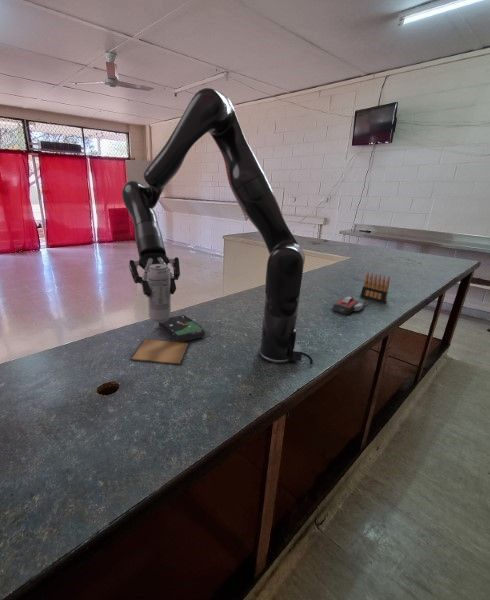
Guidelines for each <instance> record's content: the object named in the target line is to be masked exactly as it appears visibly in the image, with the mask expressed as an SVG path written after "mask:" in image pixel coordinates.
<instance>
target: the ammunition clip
mask: <svg viewBox="0 0 490 600" xmlns="http://www.w3.org/2000/svg"><path fill="white" fill-rule="evenodd" d="M390 280H391V277H390V276H387V278H386V275H383V277H382V274H379V276H378V274H377V273H375V275H374V274H373V272H371V273H370V272H369V271H367V272H366V274H365V278H364V281H363V286H362V288H361V292H360V296H359V297H360V298H363V299H365V300H371V301H374V302H379V303H382V304H386V303H387V299H388V295H389V294H388V293H389V289H390V282H391V281H390Z"/></svg>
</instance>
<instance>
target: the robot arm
mask: <svg viewBox="0 0 490 600" xmlns="http://www.w3.org/2000/svg"><path fill="white" fill-rule="evenodd" d="M206 134H209V135H210V136H211V137H212V139H213V140H214V142H215V144H216V146H217V148H218V149H219V151H220V154H221V155H222V158H223V161H224V166H225V172H226V177H227V181H228V184H229V187H230V190H231V192H232V194H233V196H234V198H235V200H236V202H237V204H238V206H239V207H240V209H241V211H242V212H243V214H244V215H245V216H246V218H247V219H248V220H249V222H250V223H251V224H252V225H253V226H254V227H255V228H256V230H257V231H258V232H259V234H260V236H261V238H262V239H263V242H264V244H265V246H266V249H267V251H268V254H269V255H268V258H267V262H266V270H265V284H264V293H265V294H264V295H265V299H264V306H263V307H264V308H263V317H262V318H263V320H262V330H261V338H260V348H259V356H260V357H261V358H262V359H263V360H265V361H267V362H268V363H273V364H285V363H292V362H293V361H299V362H301V361H302V356H304V357H306V358H307V359H308V360H309V364H310V365H313V364H314V361H313V358H312V356H311V355H309V354H308V353H306V352H303V351H302V346H301V344H298V343H297V344H296V337H297V329H296V326H297V320H298V319H297V318H298V312H299V304H300V297H301V288H302V279H303V273H304V266H305V262H306V256H305V252H304V250H303V249H302V247H301V245H300V244H299V242H298V241H297V239H296V237H295V235H293V233H292V232H291V230H290V228H289V227H288V225H287V222H286V220H285V218H284V216H283V213H282V211H281V208H280V205H279V202H278V201H277V198H276V196H275V194H274V191H273V189H272V187H271V184H270V182H269V180H268V178H267V176H266V174H265V172H264V170H263V169H262V166H261V165H260V162H259V161H258V159H257V157H256V155H255V153H254V151H253V150H252V148H251V146H250V145H249V143H248V140H247V139H246V137H245V134H244V132H243V129H242V127H241V124H240V121H239V119H238V116H237V114H236V110H235V107H234V104H233V103H232V101H231V99H230V98H229V97H228V96H227V95H226V94H224V93H223V92H221V91H218V90H216V89H214V88H210V87H205V88H202V89H199V90H198V91H197V92H195V94H194V95H193V96H192V98H191V99H190V101H189V102H188V105H187V107H186V108H185V110H184V112H183V114H182V115H181V117H180V119H179V121H178V122H177V124H176V126H175V127H174V130H173V132H172V133H171V134H170V136H169V138H168V139H167V141H166V142H165V143H164V145H163V147H162V148H161V150H160V151H159V152H158V153H157V155H156V156H155V157H154V158H153V159H152V160H151V161H150V163H149V165H148V166H147V167H146V168H145V169H144V171H143V179H144V181H145V182H146V183H147V184H148V185H149V186H147V185H145V184H143V183H141V182H138V181H137V180H129V181H126V183H125V184H124V185H123V187H122V190H121V198H122V202H123V204H124V207H125V208H126V210H127V212H128V214H129V216H130V218H131V219H132V224H133V229H134V238H135V239H134V240H135V244H136V249H137V254H138V260H134V259H129V261H128V262H129V263H128V268H129V271H130V274H131V277H132V280H133V283H134V284H140V285H141V288H142V292H143V295H144V296H146V298H148V297H149V296H150V289H149V284H148V281H147V272H148V270H149V266H150V265H152V264H165V265H167V266H168V265H169V264H170V266H171V268H173V272H172V271H171V269H170V267H169V266H168V269H169V271H170V292H171V295H175V293H176V291H177V285H176V281H179V278H180V276H181V269H180V258H179V257H177V256H176V257H174V258H169V257H168V254H167V252H166V247H165V244H164V243H165V242H164V239H163V238H164V237H163V234H162V231H161V228H160V226H159V220H158V215H157V213H156V211H155V210H154V208H155V207H156V206H157V204H158V202H159V200H160V197H161V196H162V193H163V192H164V189H165V187H166V186H167V185H168V184H169V182H170V181H172V179H173V178H174V177H175V176H176V174H177V173H178V172H179V171H180V169H181V167H182V165H183V163H184V162H185V158H186V157H187V155H188V153H189V151H190V150H191V149H192V147H193V146H194V145H195V143H197V142H198V140H200V139H201V138H202V137H203V136H205V135H206ZM139 267H140V268H141V269H142V270H144V271H143V275H142V276H140V274H139V271H138V268H139Z"/></svg>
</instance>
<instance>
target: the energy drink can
mask: <svg viewBox="0 0 490 600" xmlns="http://www.w3.org/2000/svg"><path fill="white" fill-rule="evenodd" d="M168 267H169V266H168V265H165V264H152V265H150V266H149V270H148V272H147V281H148V284H149V289H150V296H149V297H147V301H148V305H147V306H148V317H149V318H150V320H151V322H154V323H159V322H164V321H167V320H168V319H169V318H170V317H172V307H171V306H172V305H171V302H172V301H171V297H172V296H171V295H172V294H171V292H170V271H171V270H170V271H169V269H170V268H169V269H168Z"/></svg>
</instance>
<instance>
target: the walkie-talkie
mask: <svg viewBox="0 0 490 600" xmlns="http://www.w3.org/2000/svg"><path fill="white" fill-rule="evenodd" d="M368 302H369V299H365V300H364V301H362V302H359V301H358V300H357V299H354V297H352V296H348V295H347V296H346V297H342V298H341V299H339V300H338V301H336V302H335V303H333V307H332V311H334V312H338V313H341V314H344V315H345V314H346V315H349V314H351V313H352V312H358V311H361V310H362V309H364V305H365V304H367V303H368Z"/></svg>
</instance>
